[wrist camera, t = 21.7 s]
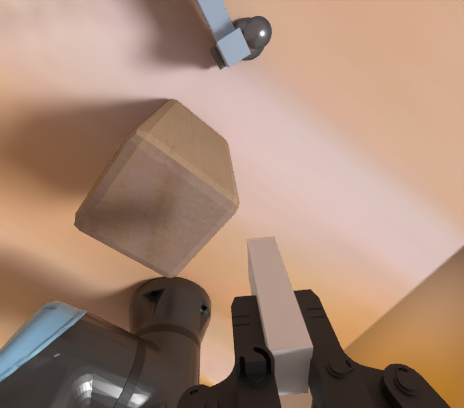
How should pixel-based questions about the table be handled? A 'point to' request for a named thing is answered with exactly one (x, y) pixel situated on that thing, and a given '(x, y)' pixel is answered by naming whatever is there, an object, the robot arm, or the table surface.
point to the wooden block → (163, 191)
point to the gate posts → (255, 34)
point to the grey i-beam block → (223, 34)
